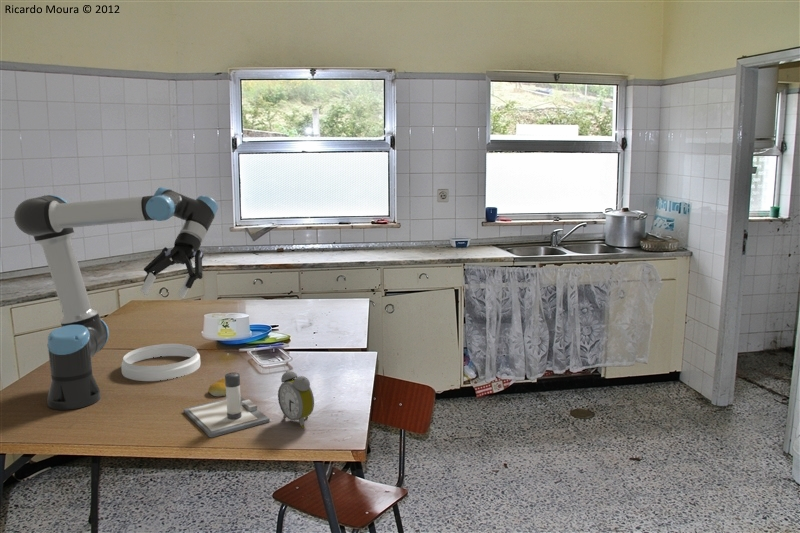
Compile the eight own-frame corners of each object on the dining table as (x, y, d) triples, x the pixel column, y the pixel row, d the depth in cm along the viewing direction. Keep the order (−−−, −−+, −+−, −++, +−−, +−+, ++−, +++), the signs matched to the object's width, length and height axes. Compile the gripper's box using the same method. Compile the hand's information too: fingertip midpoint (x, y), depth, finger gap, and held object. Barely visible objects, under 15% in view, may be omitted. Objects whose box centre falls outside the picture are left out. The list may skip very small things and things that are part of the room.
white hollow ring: (149, 387, 221) (148, 372, 220) (107, 370, 237) (105, 356, 236) (215, 366, 242) (215, 352, 241) (172, 352, 258) (171, 338, 257)
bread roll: (204, 395, 214) (203, 383, 213) (221, 386, 222) (220, 374, 222) (225, 399, 211) (224, 387, 210) (241, 389, 219) (241, 378, 219)
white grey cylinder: (224, 416, 195) (222, 374, 192) (238, 412, 197) (236, 371, 195) (230, 420, 191) (228, 378, 189) (244, 417, 194) (242, 375, 191)
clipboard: (183, 411, 200) (183, 404, 200) (239, 398, 211) (239, 391, 211) (210, 437, 183) (210, 429, 183) (269, 421, 194) (269, 414, 193)
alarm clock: (277, 419, 196) (276, 371, 193) (296, 412, 200) (295, 365, 197) (301, 431, 187) (299, 381, 185) (320, 424, 192) (318, 375, 189)
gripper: (228, 247, 209) (202, 304, 198) (163, 243, 217) (135, 297, 206) (218, 233, 203) (190, 290, 192) (151, 229, 211) (121, 284, 200)
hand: (161, 294), depth 199 cm, fingers open, 13 cm apart
